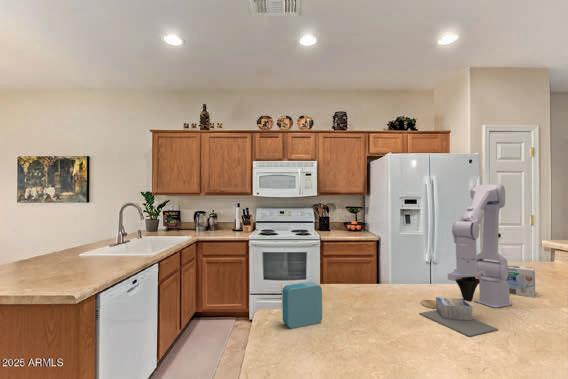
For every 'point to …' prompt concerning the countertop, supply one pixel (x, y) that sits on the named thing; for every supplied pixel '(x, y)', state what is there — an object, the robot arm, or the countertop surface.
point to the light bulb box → (521, 280)
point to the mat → (460, 324)
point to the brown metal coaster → (429, 303)
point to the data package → (302, 304)
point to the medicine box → (454, 308)
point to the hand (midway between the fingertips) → (467, 300)
